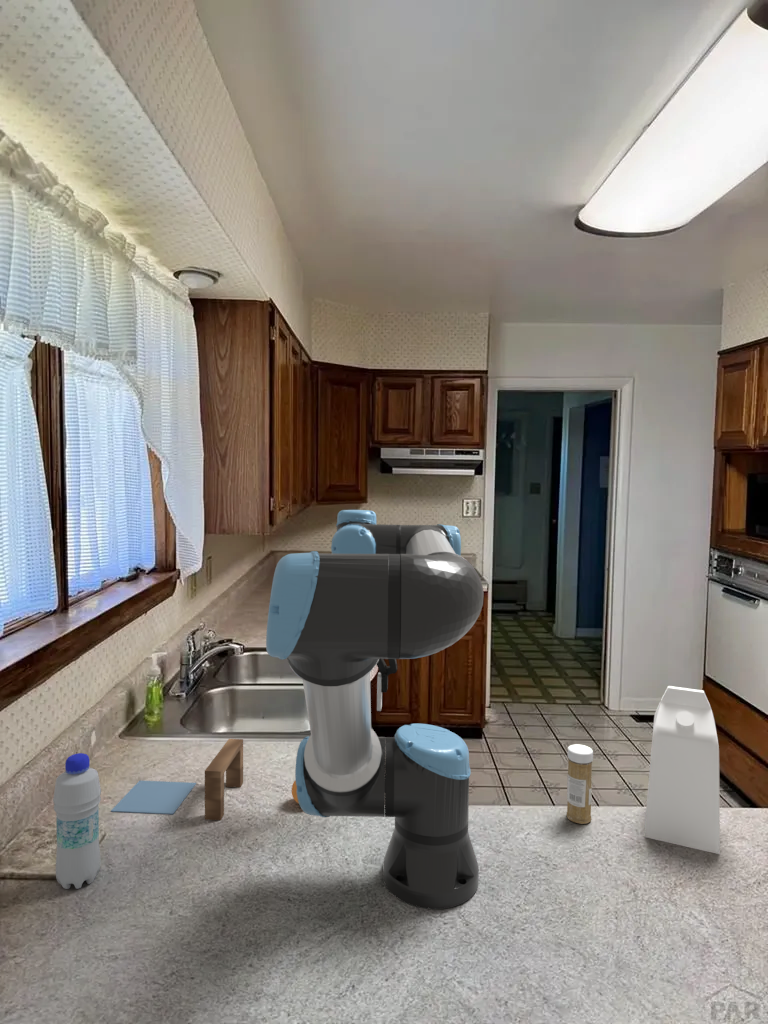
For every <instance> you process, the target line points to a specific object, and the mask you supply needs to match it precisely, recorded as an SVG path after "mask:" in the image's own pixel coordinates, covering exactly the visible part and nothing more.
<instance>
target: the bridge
mask: <svg viewBox="0 0 768 1024" xmlns="http://www.w3.org/2000/svg"><path fill="white" fill-rule="evenodd" d="M243 784H244V739H241V738H228V739H227V741H225V743H224V744H223V746H222V747H221V748H220V750H219V752H218V753H217V754H216V755H215V757H214V758H213V759H212V760H211V762H210V763H209V764H208V766H207V767H206V768H205V770H204V820H205V821H207V820H208V821H209V820H210V821H221V820H222V819H223V817H224V816H225V787H226V788H241V787H242V785H243Z"/></svg>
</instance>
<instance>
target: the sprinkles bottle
mask: <svg viewBox="0 0 768 1024" xmlns="http://www.w3.org/2000/svg"><path fill="white" fill-rule="evenodd" d="M593 760H594V751H593V749H592V748H591V747H589V746H587V745H585V744H579V743H578V744H577V743H575V744H570V745H569V746H568V747H567V761H568V762H567V763H568V764H567V767H568V768H567V785H566V787H567V789H566V800H567V801H566V802H567V805H566V818H567V819H568V820H569V821H571V822H572V823H575V824H579V825H583V824H584V825H585V824H586V825H587V824H589V823H590V822H591V821H592V809H591V808H592V795H593V794H592V792H593V791H592V790H593V789H592V788H593V787H592V784H593V783H592V773H593V771H592V769H593V767H592V766H593Z"/></svg>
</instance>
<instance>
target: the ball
mask: <svg viewBox="0 0 768 1024" xmlns="http://www.w3.org/2000/svg"><path fill="white" fill-rule="evenodd" d="M291 786H292V787H291V795H292V798H293V800H294V802H295V803H296V804H299V802H298V798H297V785H296V780H294V781H293V783H292V785H291ZM299 805H300V804H299Z"/></svg>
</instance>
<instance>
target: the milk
mask: <svg viewBox="0 0 768 1024" xmlns="http://www.w3.org/2000/svg"><path fill="white" fill-rule="evenodd" d="M660 699H661V700H660V701H659V703H658V706H657V708H656V710H655V712H654V716H653V727H652V738H651V750H650V761H649V770H648V771H649V774H648V785H647V786H648V787H647V795H646V807H645V808H646V809H645V820H644V821H645V822H644V832H643V833H644V834H643V838H647V839H651V840H655V841H661V842H665V843H668V844H674V845H678V846H682V847H687V848H690V849H695V850H700V851H703V852H708V853H713V854H717V855H721V838H720V837H721V836H720V835H721V832H720V831H721V829H720V828H721V823H720V821H721V819H720V818H721V816H720V815H721V814H720V748H719V747H720V746H719V738H718V734H717V733H718V732H717V726H716V721H715V717H714V712H713V710H712V707H711V704H710V702H709V700H708V697H707V695H706V692H705V690H704V689H703V690H702V689H696V688H695V689H694V688H690V687H688V688H687V687H680V686H673V685H668V686H667V687H666V689H665V691H664V692H663V694H662V697H661V698H660Z"/></svg>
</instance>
